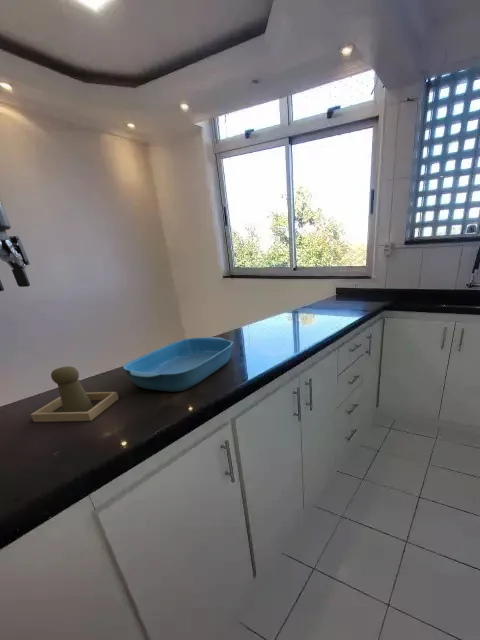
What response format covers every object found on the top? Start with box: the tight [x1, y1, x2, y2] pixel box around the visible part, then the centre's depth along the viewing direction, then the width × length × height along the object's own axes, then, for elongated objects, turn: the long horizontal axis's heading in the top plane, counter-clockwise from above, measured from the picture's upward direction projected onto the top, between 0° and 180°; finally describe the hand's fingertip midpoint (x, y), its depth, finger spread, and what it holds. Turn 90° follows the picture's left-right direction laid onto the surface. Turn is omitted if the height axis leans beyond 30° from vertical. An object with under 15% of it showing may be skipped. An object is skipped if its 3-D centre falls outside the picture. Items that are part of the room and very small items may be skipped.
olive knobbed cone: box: [50, 366, 94, 412], centre depth 74 cm, size 6×6×11 cm
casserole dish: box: [122, 336, 234, 393], centre depth 96 cm, size 37×22×7 cm, turn 163°
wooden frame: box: [29, 391, 119, 423], centre depth 76 cm, size 14×12×3 cm
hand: (11, 288), depth 68 cm, fingers open, 8 cm apart
